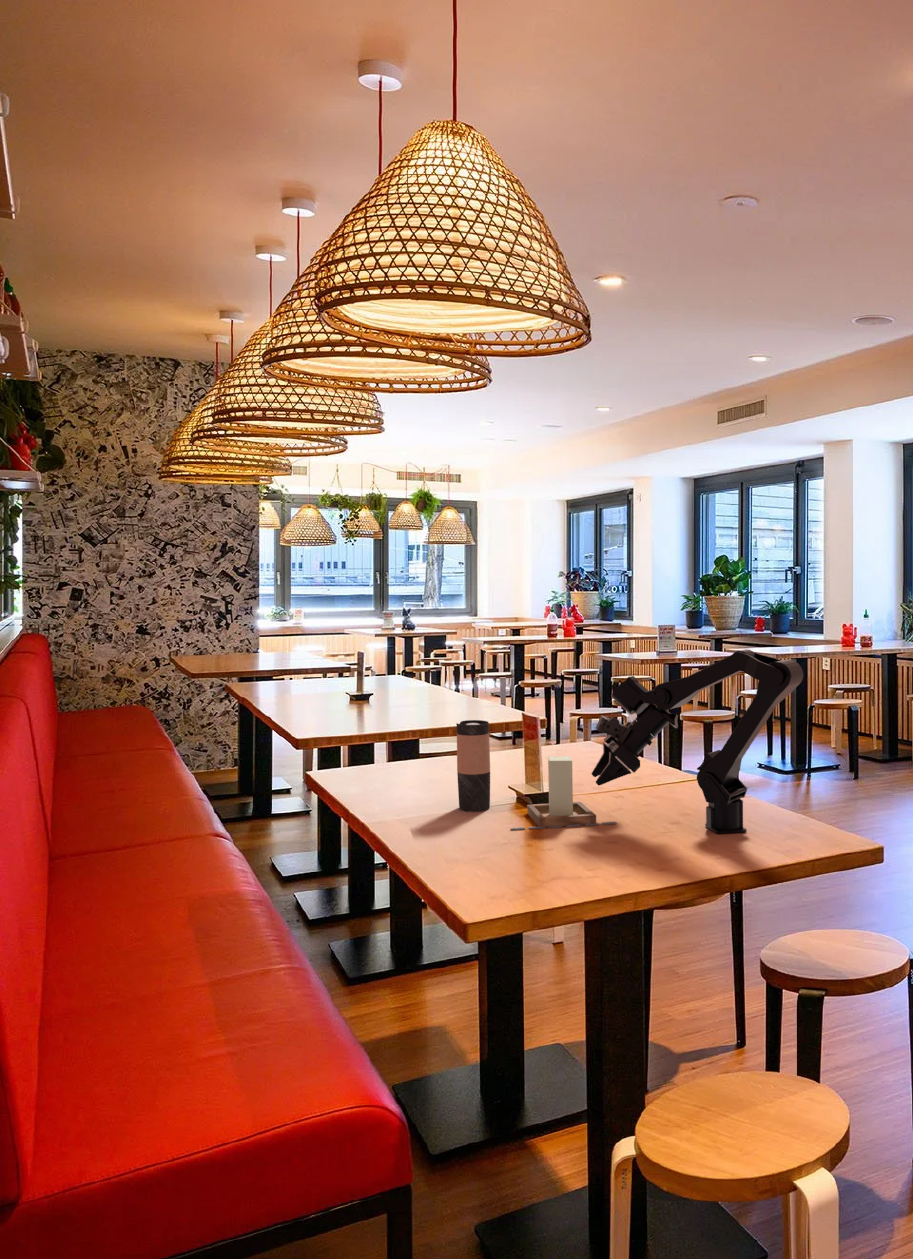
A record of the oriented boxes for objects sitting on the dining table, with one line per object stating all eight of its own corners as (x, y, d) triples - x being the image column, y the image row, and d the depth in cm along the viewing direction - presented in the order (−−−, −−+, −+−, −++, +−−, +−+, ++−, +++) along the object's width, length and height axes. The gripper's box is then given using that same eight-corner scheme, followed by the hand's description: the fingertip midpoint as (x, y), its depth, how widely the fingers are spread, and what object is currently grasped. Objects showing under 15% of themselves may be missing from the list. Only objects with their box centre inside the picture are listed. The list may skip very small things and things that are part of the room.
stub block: (571, 814, 209) (570, 756, 208) (573, 819, 204) (572, 760, 203) (549, 814, 209) (548, 756, 209) (550, 820, 204) (548, 760, 204)
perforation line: (615, 823, 202) (615, 821, 202) (616, 824, 201) (616, 822, 201) (510, 829, 199) (510, 827, 199) (511, 830, 198) (511, 828, 198)
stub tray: (580, 810, 214) (580, 801, 213) (596, 824, 201) (596, 815, 201) (527, 813, 212) (527, 804, 212) (539, 827, 200) (539, 818, 200)
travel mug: (496, 809, 216) (494, 723, 215) (465, 813, 213) (463, 726, 212) (483, 802, 223) (481, 719, 222) (453, 806, 220) (451, 721, 219)
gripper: (612, 698, 214) (565, 747, 215) (623, 708, 196) (571, 762, 197) (648, 731, 214) (600, 780, 215) (662, 744, 195) (610, 798, 196)
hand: (594, 779), depth 206 cm, fingers open, 9 cm apart
